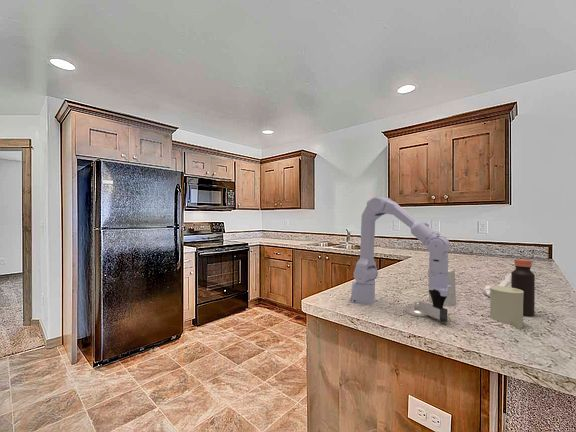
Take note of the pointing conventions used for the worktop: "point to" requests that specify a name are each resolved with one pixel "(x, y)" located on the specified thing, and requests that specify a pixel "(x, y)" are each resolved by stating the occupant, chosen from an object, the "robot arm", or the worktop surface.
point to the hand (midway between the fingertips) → (437, 311)
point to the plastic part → (503, 283)
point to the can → (507, 305)
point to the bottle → (524, 284)
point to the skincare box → (451, 291)
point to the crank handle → (426, 311)
